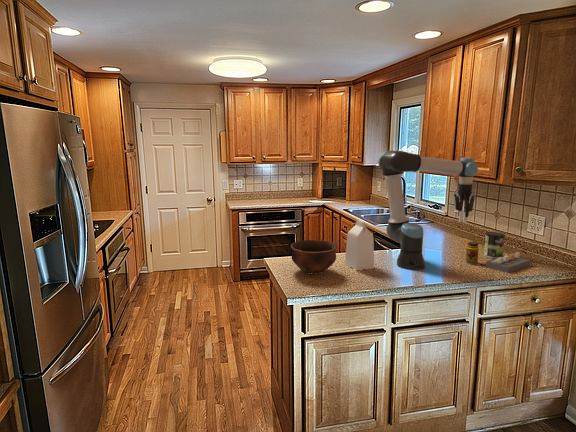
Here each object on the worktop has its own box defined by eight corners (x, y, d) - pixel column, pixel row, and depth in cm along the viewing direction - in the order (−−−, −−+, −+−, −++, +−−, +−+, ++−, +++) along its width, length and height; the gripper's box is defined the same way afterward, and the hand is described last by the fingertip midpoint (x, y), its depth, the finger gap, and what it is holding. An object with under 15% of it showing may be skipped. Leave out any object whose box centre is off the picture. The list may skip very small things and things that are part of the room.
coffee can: (507, 257, 224) (509, 234, 221) (493, 259, 221) (495, 236, 218) (493, 253, 233) (495, 231, 231) (479, 254, 231) (481, 232, 228)
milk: (345, 264, 214) (345, 220, 209) (362, 262, 218) (363, 218, 213) (356, 270, 203) (357, 224, 198) (374, 268, 207) (375, 222, 202)
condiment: (467, 264, 211) (469, 244, 209) (461, 260, 220) (463, 240, 218) (480, 265, 211) (482, 244, 209) (474, 260, 219) (476, 240, 217)
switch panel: (507, 272, 197) (508, 267, 197) (485, 266, 207) (485, 261, 207) (530, 264, 210) (530, 259, 209) (508, 259, 220) (508, 254, 219)
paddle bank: (499, 264, 202) (500, 258, 201) (496, 263, 203) (497, 258, 202) (519, 257, 213) (520, 252, 212) (517, 257, 214) (517, 252, 213)
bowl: (287, 278, 192) (287, 250, 189) (293, 264, 216) (293, 238, 213) (336, 280, 188) (336, 251, 186) (336, 265, 213) (337, 239, 210)
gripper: (481, 184, 220) (478, 223, 225) (457, 182, 233) (455, 219, 237) (474, 185, 216) (470, 224, 221) (450, 183, 229) (447, 220, 233)
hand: (462, 221), depth 229 cm, fingers open, 2 cm apart
